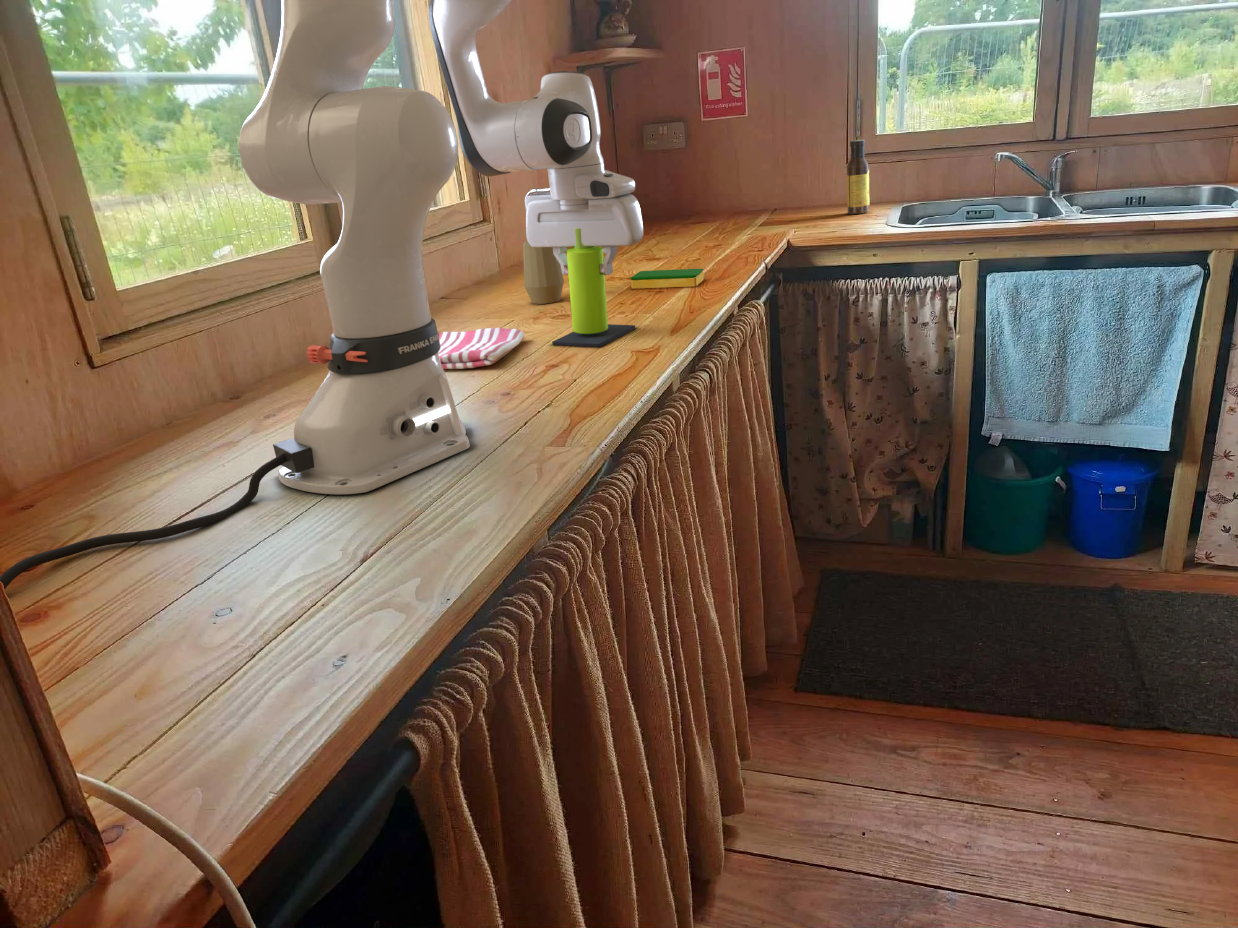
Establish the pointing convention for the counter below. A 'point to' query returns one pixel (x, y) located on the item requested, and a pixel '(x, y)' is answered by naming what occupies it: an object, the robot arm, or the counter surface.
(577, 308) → the soap dispenser
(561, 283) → the squeeze bottle
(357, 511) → the counter surface
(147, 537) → the robot arm
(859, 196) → the sauce bottle
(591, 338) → the mat
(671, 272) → the dish sponge
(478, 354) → the dish towel
